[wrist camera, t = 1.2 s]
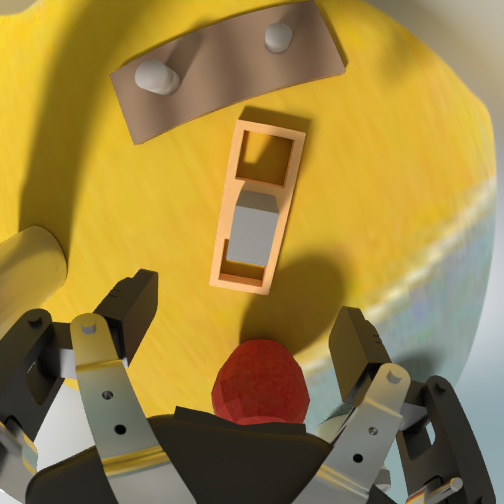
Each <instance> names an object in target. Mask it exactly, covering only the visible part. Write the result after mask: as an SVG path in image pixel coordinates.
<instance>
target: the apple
mask: <svg viewBox="0 0 504 504" xmlns="http://www.w3.org/2000/svg"><path fill="white" fill-rule="evenodd" d="M211 396H212V405H213V409H214V413H215V416H218V417H221V418H223V419H226V420H228V421H231V422H234V423H237V424H240V425H249V424H260V423H269V422H284V423H301V424H303V422H304V419H305V416H306V413H307V409H308V406H309V402H310V398H309V394H308V390H307V386H306V383H305V380H304V376H303V373H302V369H301V367H300V366H299V365H298V363H297V362H296V360H295V359H294V358H293V356H292V355H291V353H290V352H289V351H288V350H287V349H286V348H285V347H284V346H283V345H281V344H280V343H278V342H276V341H274V340H267V339H255V340H248V341H246V342H244V343H243V344H241V345H239V346H238V347H237V348H236V349H235V350H234V351H233V353H232V354H231V355H230V357H229V358H228V359H227V361H226V362H225V363H224V365H223V366H222V368H221V369H220V371H219V372H218V375H217V378H216V381H215V383H214V386H213V389H212V392H211Z"/></svg>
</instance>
